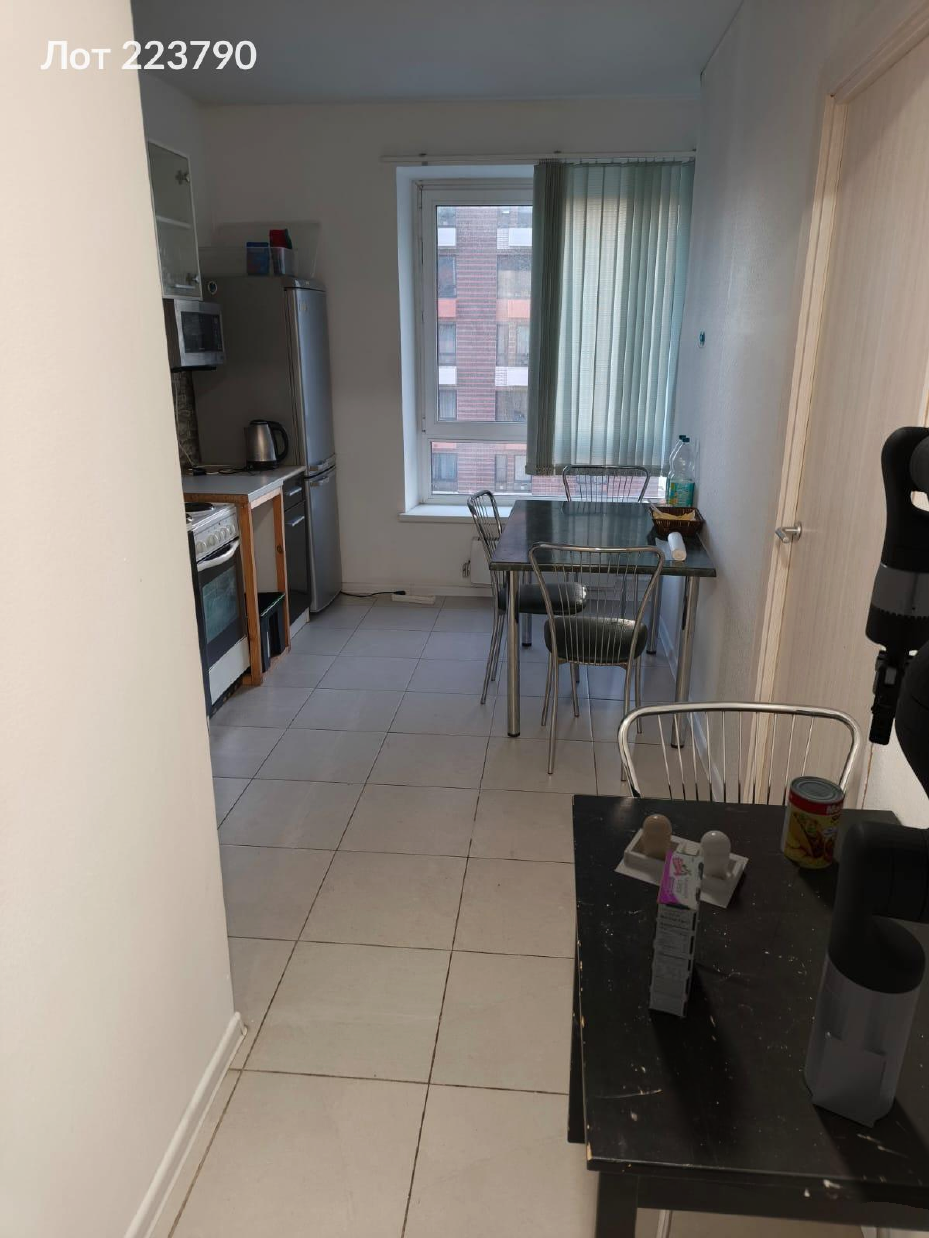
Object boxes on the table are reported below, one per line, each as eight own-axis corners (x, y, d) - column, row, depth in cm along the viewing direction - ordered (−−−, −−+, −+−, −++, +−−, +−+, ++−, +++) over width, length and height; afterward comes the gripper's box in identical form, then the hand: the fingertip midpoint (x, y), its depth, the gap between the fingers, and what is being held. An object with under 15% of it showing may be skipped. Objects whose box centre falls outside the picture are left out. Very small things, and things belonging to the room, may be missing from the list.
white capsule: (722, 885, 129) (728, 844, 127) (693, 875, 131) (698, 835, 129) (729, 870, 133) (735, 830, 130) (701, 861, 135) (706, 821, 132)
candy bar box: (655, 950, 117) (666, 847, 111) (693, 959, 115) (706, 855, 110) (644, 1009, 107) (655, 900, 101) (685, 1020, 105) (699, 909, 100)
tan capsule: (663, 867, 133) (667, 827, 131) (636, 858, 135) (640, 819, 133) (672, 852, 137) (676, 813, 134) (645, 844, 139) (649, 805, 136)
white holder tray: (725, 911, 124) (727, 898, 124) (614, 873, 132) (615, 861, 132) (748, 861, 136) (749, 849, 135) (644, 829, 144) (645, 818, 143)
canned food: (834, 873, 133) (846, 805, 129) (780, 863, 136) (791, 796, 132) (830, 844, 140) (842, 780, 136) (779, 836, 143) (789, 772, 139)
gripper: (939, 626, 92) (911, 761, 97) (945, 592, 104) (920, 714, 109) (863, 614, 95) (840, 744, 101) (877, 582, 107) (856, 701, 112)
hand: (882, 728), depth 105 cm, fingers open, 8 cm apart
